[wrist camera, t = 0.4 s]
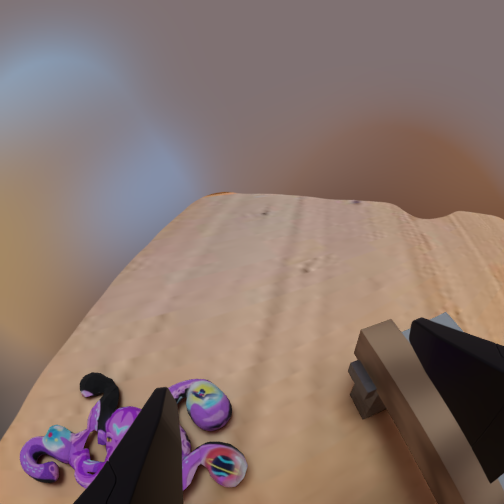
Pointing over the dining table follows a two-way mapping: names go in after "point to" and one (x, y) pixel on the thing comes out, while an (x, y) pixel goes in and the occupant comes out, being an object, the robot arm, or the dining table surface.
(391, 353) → the rail
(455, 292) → the dining table surface
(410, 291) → the dining table surface
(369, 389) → the grey block
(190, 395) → the decorative sculpture
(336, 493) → the dining table surface
